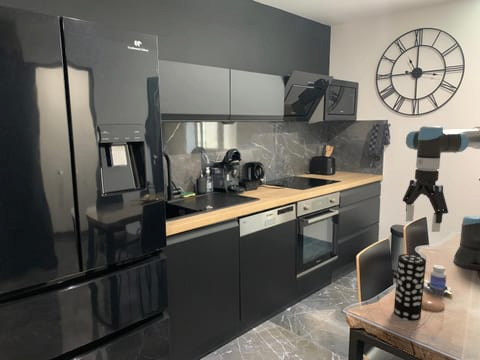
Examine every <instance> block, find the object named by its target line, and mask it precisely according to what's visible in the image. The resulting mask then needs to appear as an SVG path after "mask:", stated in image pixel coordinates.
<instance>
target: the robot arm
mask: <svg viewBox="0 0 480 360" xmlns="http://www.w3.org/2000/svg"><path fill="white" fill-rule="evenodd" d="M405 145H406V147H407V148H408V149H411V150H414V151H416V163H415V168H416V169H415V172H414V174H415V175H414V179H410V180H409V184H408V187H407V189H406V192H405V194H404V196H403V197H402V202H404V203H405V204H406V205H405V222H413V221H414V212H415V202H416V200H418V198H419V197H420V196H421V195H423V196H426V198H428V200H429V202H430V204H431V207H432V208H433V211H434V213H433V214H432V223H431V232H432V233H437V232H441V224H442V222H443V215H444V214H445V215H446V214H449V209H448V205H447V201H446V199H445V194H444V185H442V184H441V185H439V184H438V185H436V183H437V181H438V180H439V174H440V173H439V172H440V171H439V169H440V165H441V163H440V162H441V153H453V154H457V153H462V152H464V151H465V150H466V149H467V148H472V149H475V150H480V126H475V127H473V128H471V129H470V128H468V129H445V130H444V128H443V126H427V125H426V126H421V127H420V128H419V130H413V131H410V132H409V133H408V134H407V135H406V138H405ZM461 223H462V224H461V231H460V240H459V246H458V248H457V250H456V252H455V253H454V257H453V263H454V264H456V265H457V266H459V267H462V268H464V269H469V270H474V271H478V270H480V215H466V216H464V217H463V218H462V222H461Z"/></svg>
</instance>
